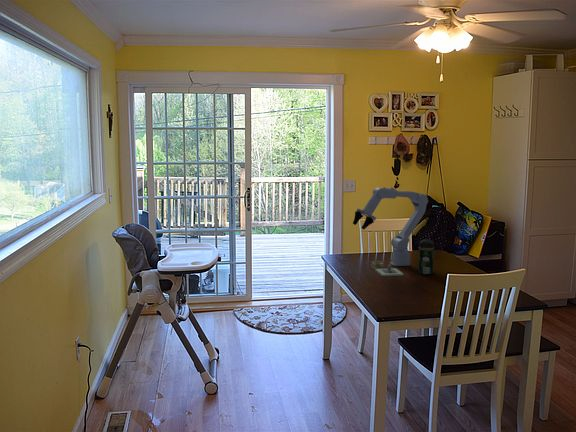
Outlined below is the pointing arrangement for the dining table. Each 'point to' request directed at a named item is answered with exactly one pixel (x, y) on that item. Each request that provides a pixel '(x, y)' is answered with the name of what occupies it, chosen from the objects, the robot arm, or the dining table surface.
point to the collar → (377, 265)
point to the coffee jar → (426, 257)
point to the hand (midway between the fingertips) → (358, 226)
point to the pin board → (389, 271)
